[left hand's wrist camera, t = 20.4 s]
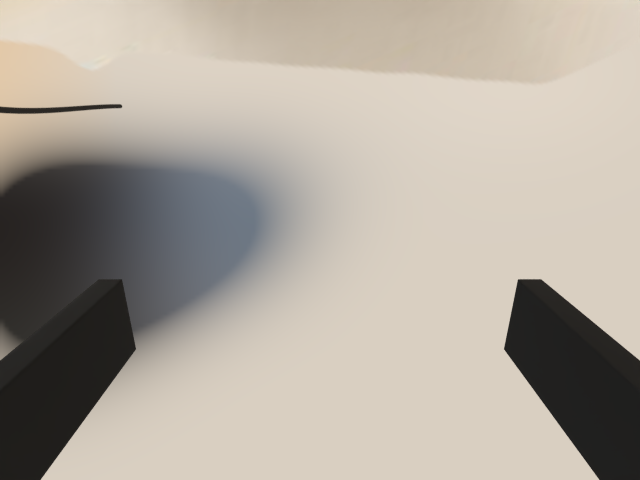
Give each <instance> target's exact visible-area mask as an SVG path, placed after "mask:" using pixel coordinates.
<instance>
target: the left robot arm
mask: <svg viewBox="0 0 640 480" xmlns="http://www.w3.org/2000/svg"><path fill="white" fill-rule="evenodd" d="M112 108H122V105H121V104H103V105H85V106H70V107H51V108H15V107H1V106H0V113H10V114H41V113H59V112H72V111H84V110H96V109H112ZM135 350H136V347H135V342H134V337H133V332H132V327H131V323H130V317H129V313H128V307H127V302H126V297H125V292H124V287H123V283H122V280H121V279H118V280H117V279H114V280H113V279H101V280H98V281H96V282H95V283H94V284H93V285H91V286H90V287H89V288H88V289H87V290H85V291H84V292H83V293H82V294H81V295H79V296H78V297H77V298H76V299H74V300H73V301H72V302H71V303H70V304H68V305H67V306H66V307H65V308H64V309H62V310H61V311H60V312H59V313H58V314H56V315H55V316H54V317H53V318H51V319H50V320H49V321H48V322H47V323H45V324H44V325H43V326H42V327H41V328H39V329H38V330H37V331H36V332H34V333H33V334H32V335H31V336H30V337H28V338H27V339H26V340H25V341H24V342H22V343H21V344H20V345H19V346H18V347H16V348H15V349H14V350H13V351H11V352H10V353H9V354H8V355H7V356H5V357H4V358H3V359H2V360H0V480H41V478H42V477H43V476H44V474H45V473H46V471H47V470H48V469H49V467H50V466H51V465H52V463H53V462H54V460H55V459H56V458H57V456H58V455H59V454H60V452H61V451H62V450H63V448H64V447H65V446H66V444H67V443H68V441H69V440H70V439H71V437H72V436H73V435H74V433H75V432H76V430H77V429H78V428H79V426H80V425H81V424H82V422H83V421H84V420H85V418H86V417H87V415H88V414H89V413H90V411H91V410H92V409H93V407H94V406H95V404H96V403H97V402H98V400H99V399H100V398H101V396H102V395H103V393H104V392H105V391H106V389H107V388H108V387H109V385H110V384H111V383H112V381H113V380H114V378H115V377H116V376H117V374H118V373H119V372H120V370H121V369H122V367H123V366H124V365H125V363H126V362H127V361H128V359H129V358H130V357H131V355H132V354H133V352H134V351H135ZM504 350H505V351H506V352H507V354H508V355H509V357H510V358H511V359H512V361H513V362H514V363H515V365H516V366H517V368H518V369H519V370H520V372H521V373H522V374H523V376H524V377H525V378H526V380H527V381H528V383H529V384H530V385H531V387H532V388H533V389H534V391H535V392H536V394H537V395H538V396H539V398H540V399H541V400H542V402H543V403H544V404H545V406H546V407H547V408H548V410H549V411H550V413H551V414H552V415H553V417H554V418H555V420H556V421H557V422H558V424H559V425H560V426H561V428H562V429H563V430H564V432H565V433H566V435H567V436H568V437H569V439H570V440H571V441H572V443H573V444H574V445H575V447H576V448H577V450H578V451H579V452H580V454H581V455H582V456H583V458H584V459H585V460H586V462H587V463H588V465H589V466H590V467H591V469H592V470H593V471H594V473H595V474H596V476H597V477H598V478H599V480H640V361H639V360H638V359H637V358H636V357H635V356H633V355H632V354H631V353H630V352H629V351H627V350H626V349H625V348H624V347H623V346H621V345H620V344H619V343H618V342H616V341H615V340H614V339H613V338H612V337H610V336H609V335H608V334H607V333H606V332H604V331H603V330H602V329H601V328H599V327H598V326H597V325H596V324H595V323H593V322H592V321H591V320H590V319H589V318H587V317H586V316H585V315H584V314H582V313H581V312H580V311H579V310H578V309H576V308H575V307H574V306H573V305H571V304H570V303H569V302H568V301H567V300H565V299H564V298H563V297H562V296H561V295H559V294H558V293H557V292H556V291H555V290H553V289H552V288H551V287H550V286H548V285H547V284H546V283H545V282H544V281H542V280H540V279H520V280H518V282H517V288H516V292H515V297H514V302H513V307H512V312H511V317H510V322H509V327H508V332H507V337H506V342H505V347H504Z"/></svg>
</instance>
